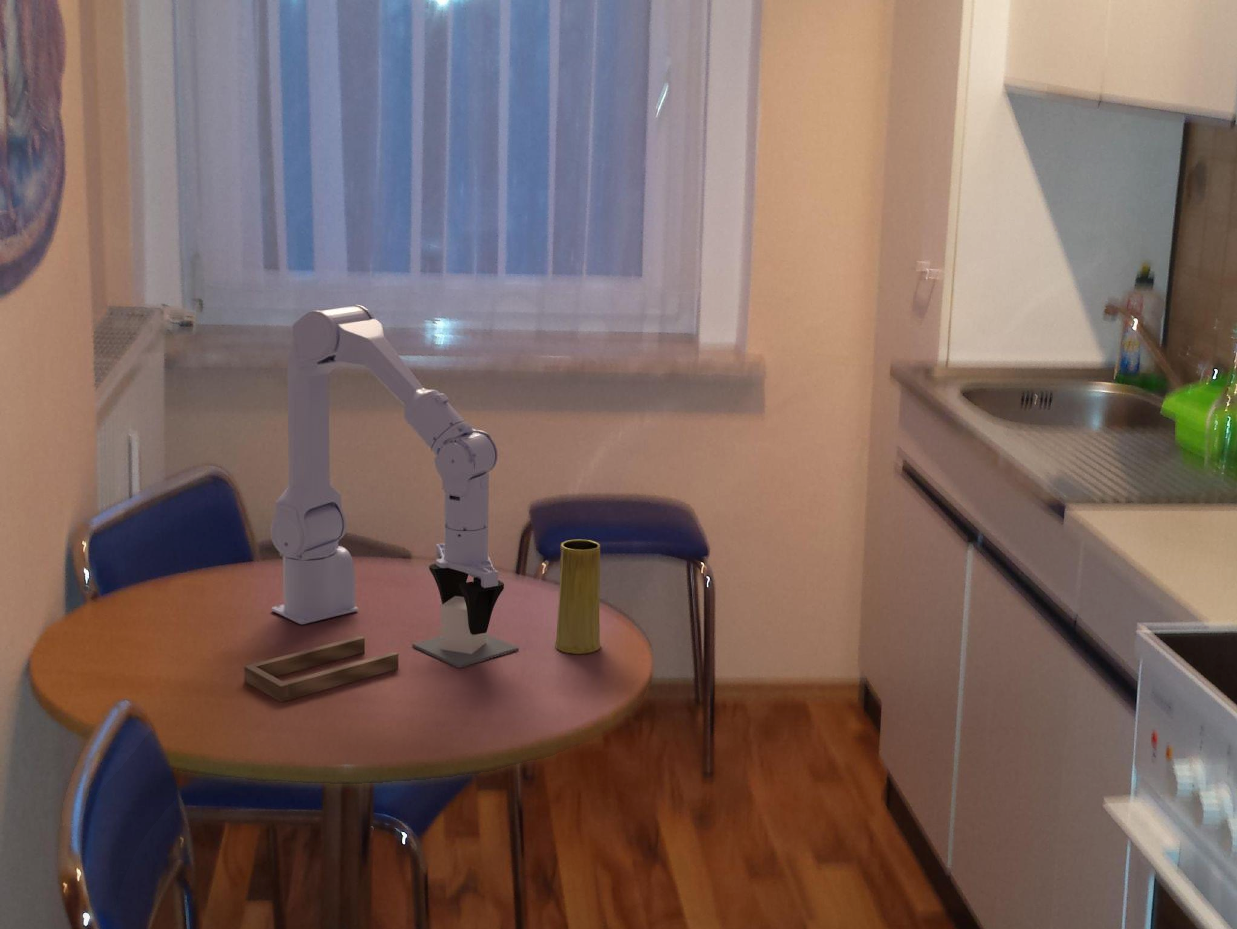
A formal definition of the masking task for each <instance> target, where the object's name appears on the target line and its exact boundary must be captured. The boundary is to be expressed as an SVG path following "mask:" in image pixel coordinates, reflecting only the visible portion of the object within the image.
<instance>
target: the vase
mask: <svg viewBox="0 0 1237 929" xmlns="http://www.w3.org/2000/svg"><path fill="white" fill-rule="evenodd" d="M600 573H601V544H600V543H599V542H597V541H594V540H590V539H582V538H581V539H570V540H565V541H563V542H561V543H560V561H559V589H558V591H559V592H558V606H557V607H558V608H557V621H556V622H557V623H556V624H557V625H556V640H555V642H554V646H555V648H556V649H557V650H558V649H559V651H560V650H561V651H560V652H562V653H565V652H567V653H566V654H570V653H572V655H588V654H593V653H595V652H596V651H599V649H600V648H601V645H602V644H601V639H600V635H601V630H600V629H601V627H600V590H601V587H600V585H601V583H600V577H601V574H600ZM587 653H588V654H587Z"/></svg>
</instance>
